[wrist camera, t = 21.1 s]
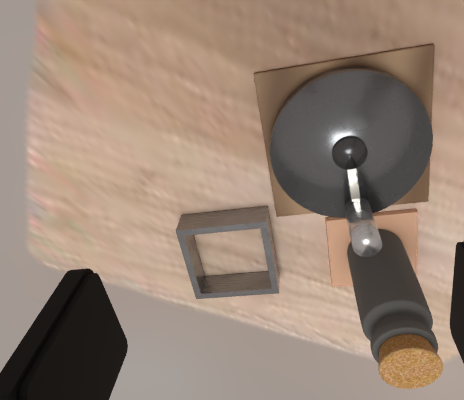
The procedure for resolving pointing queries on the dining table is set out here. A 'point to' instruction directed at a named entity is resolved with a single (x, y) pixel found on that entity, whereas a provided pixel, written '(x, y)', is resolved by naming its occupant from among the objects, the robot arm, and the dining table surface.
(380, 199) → the handwheel
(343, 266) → the pad
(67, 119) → the dining table surface
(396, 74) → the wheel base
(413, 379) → the bottle
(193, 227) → the collar
